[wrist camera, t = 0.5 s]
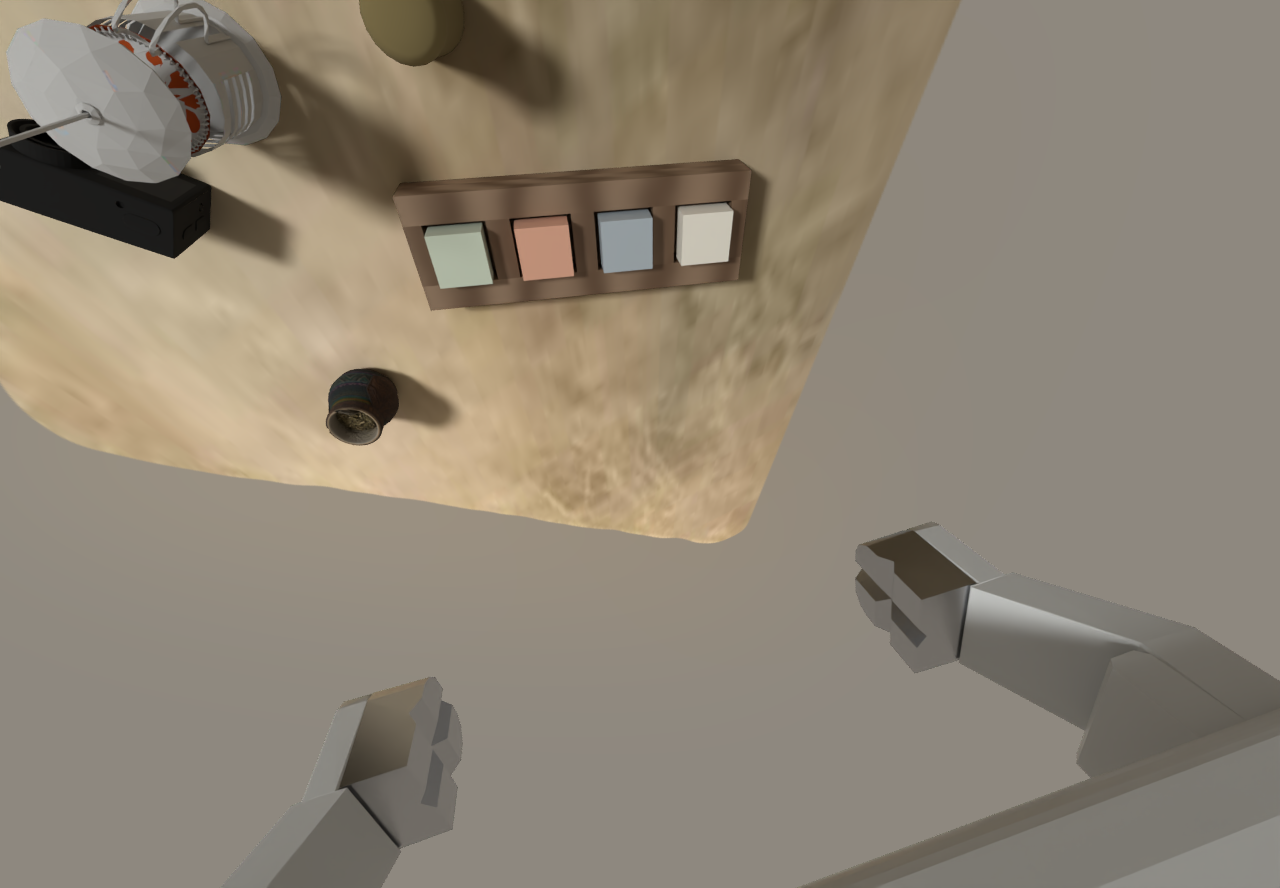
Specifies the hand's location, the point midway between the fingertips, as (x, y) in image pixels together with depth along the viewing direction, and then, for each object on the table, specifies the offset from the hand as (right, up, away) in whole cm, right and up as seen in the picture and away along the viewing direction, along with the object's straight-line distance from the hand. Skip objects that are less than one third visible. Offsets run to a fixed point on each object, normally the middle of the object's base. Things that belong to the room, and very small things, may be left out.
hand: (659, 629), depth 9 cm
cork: (-17, +38, +30) cm, 51 cm away
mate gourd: (-33, +11, +51) cm, 62 cm away
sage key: (-18, +22, +39) cm, 49 cm away
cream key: (+6, +26, +42) cm, 50 cm away
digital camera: (-44, +27, +34) cm, 61 cm away
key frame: (-7, +26, +43) cm, 51 cm away
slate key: (-2, +25, +41) cm, 48 cm away
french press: (-34, +33, +30) cm, 56 cm away
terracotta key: (-10, +23, +40) cm, 48 cm away
